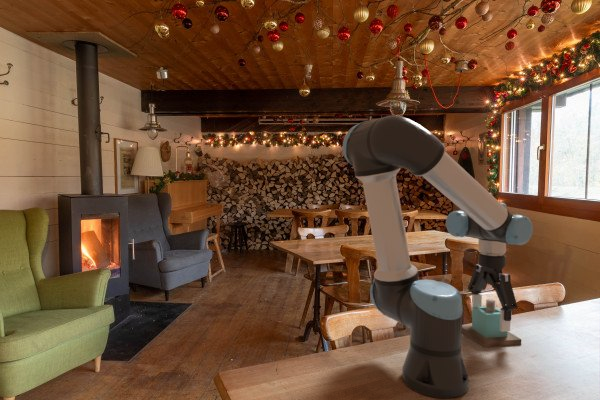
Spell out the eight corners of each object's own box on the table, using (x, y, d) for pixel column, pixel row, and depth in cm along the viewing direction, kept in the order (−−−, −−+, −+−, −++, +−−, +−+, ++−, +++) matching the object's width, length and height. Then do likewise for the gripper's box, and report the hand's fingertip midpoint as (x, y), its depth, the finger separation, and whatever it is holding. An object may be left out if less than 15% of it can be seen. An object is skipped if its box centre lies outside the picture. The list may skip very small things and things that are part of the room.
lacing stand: (483, 347, 113) (484, 308, 112) (460, 330, 125) (461, 295, 124) (521, 344, 115) (522, 305, 114) (494, 328, 127) (495, 293, 126)
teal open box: (485, 337, 116) (486, 314, 115) (472, 328, 123) (472, 306, 122) (507, 336, 117) (508, 313, 116) (492, 327, 124) (493, 305, 123)
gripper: (533, 261, 106) (531, 338, 108) (478, 245, 131) (476, 307, 132) (508, 262, 105) (506, 339, 107) (457, 246, 130) (456, 309, 131)
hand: (490, 322), depth 119 cm, fingers open, 13 cm apart
